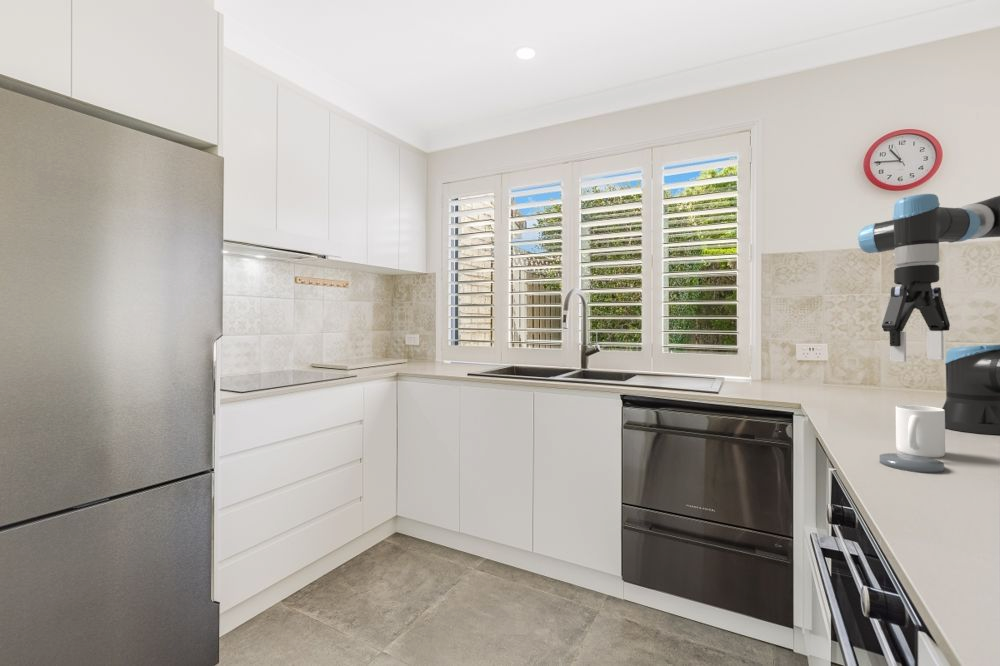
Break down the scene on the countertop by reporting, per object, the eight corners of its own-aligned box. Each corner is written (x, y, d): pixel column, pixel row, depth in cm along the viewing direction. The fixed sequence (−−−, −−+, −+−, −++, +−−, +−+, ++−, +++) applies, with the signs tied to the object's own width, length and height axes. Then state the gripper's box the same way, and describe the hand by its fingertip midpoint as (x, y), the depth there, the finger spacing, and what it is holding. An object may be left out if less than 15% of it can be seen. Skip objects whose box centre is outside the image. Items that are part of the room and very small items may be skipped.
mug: (936, 463, 97) (936, 414, 97) (886, 455, 103) (886, 409, 103) (949, 453, 104) (948, 408, 104) (901, 446, 111) (901, 403, 110)
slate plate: (897, 456, 102) (897, 451, 102) (955, 469, 93) (955, 463, 93) (868, 461, 99) (868, 456, 99) (925, 475, 89) (925, 469, 89)
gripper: (929, 269, 111) (930, 357, 111) (861, 266, 102) (862, 361, 103) (969, 265, 104) (970, 359, 104) (900, 261, 95) (901, 363, 96)
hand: (917, 360), depth 103 cm, fingers open, 13 cm apart
